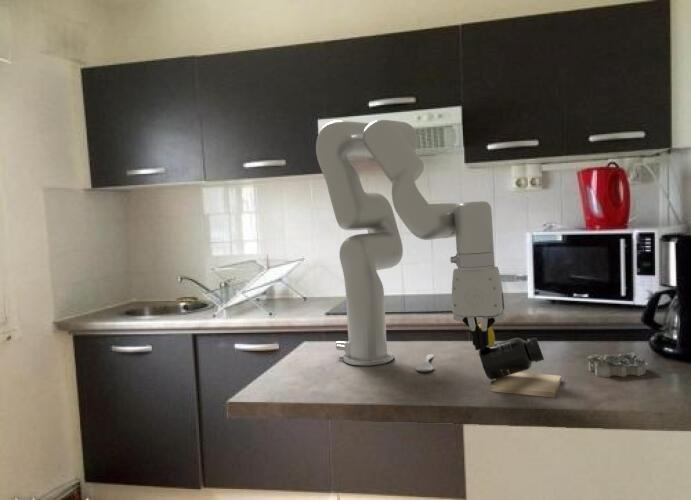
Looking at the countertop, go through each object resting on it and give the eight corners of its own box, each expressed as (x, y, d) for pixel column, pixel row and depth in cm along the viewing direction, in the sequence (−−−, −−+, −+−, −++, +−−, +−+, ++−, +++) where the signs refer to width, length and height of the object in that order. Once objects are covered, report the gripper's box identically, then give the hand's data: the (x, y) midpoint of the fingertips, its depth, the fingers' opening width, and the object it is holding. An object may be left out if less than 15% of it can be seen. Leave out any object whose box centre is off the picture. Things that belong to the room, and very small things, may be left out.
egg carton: (597, 379, 116) (596, 360, 116) (585, 368, 123) (584, 350, 123) (650, 377, 115) (650, 358, 115) (635, 367, 122) (634, 348, 122)
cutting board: (490, 391, 111) (490, 386, 111) (502, 375, 121) (502, 371, 121) (554, 397, 106) (554, 392, 106) (561, 380, 115) (561, 375, 115)
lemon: (477, 350, 143) (476, 319, 143) (498, 352, 140) (497, 320, 140) (469, 355, 139) (467, 323, 138) (490, 357, 136) (489, 325, 135)
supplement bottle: (488, 384, 114) (547, 368, 111) (477, 353, 114) (535, 335, 111) (489, 375, 120) (544, 359, 117) (478, 346, 121) (533, 329, 118)
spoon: (413, 376, 125) (413, 369, 125) (424, 352, 145) (424, 346, 145) (432, 376, 124) (432, 369, 124) (440, 353, 144) (440, 346, 144)
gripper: (435, 264, 115) (441, 351, 116) (509, 262, 108) (514, 354, 109) (446, 260, 122) (451, 343, 123) (516, 258, 115) (521, 346, 116)
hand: (481, 348), depth 116 cm, fingers closed
